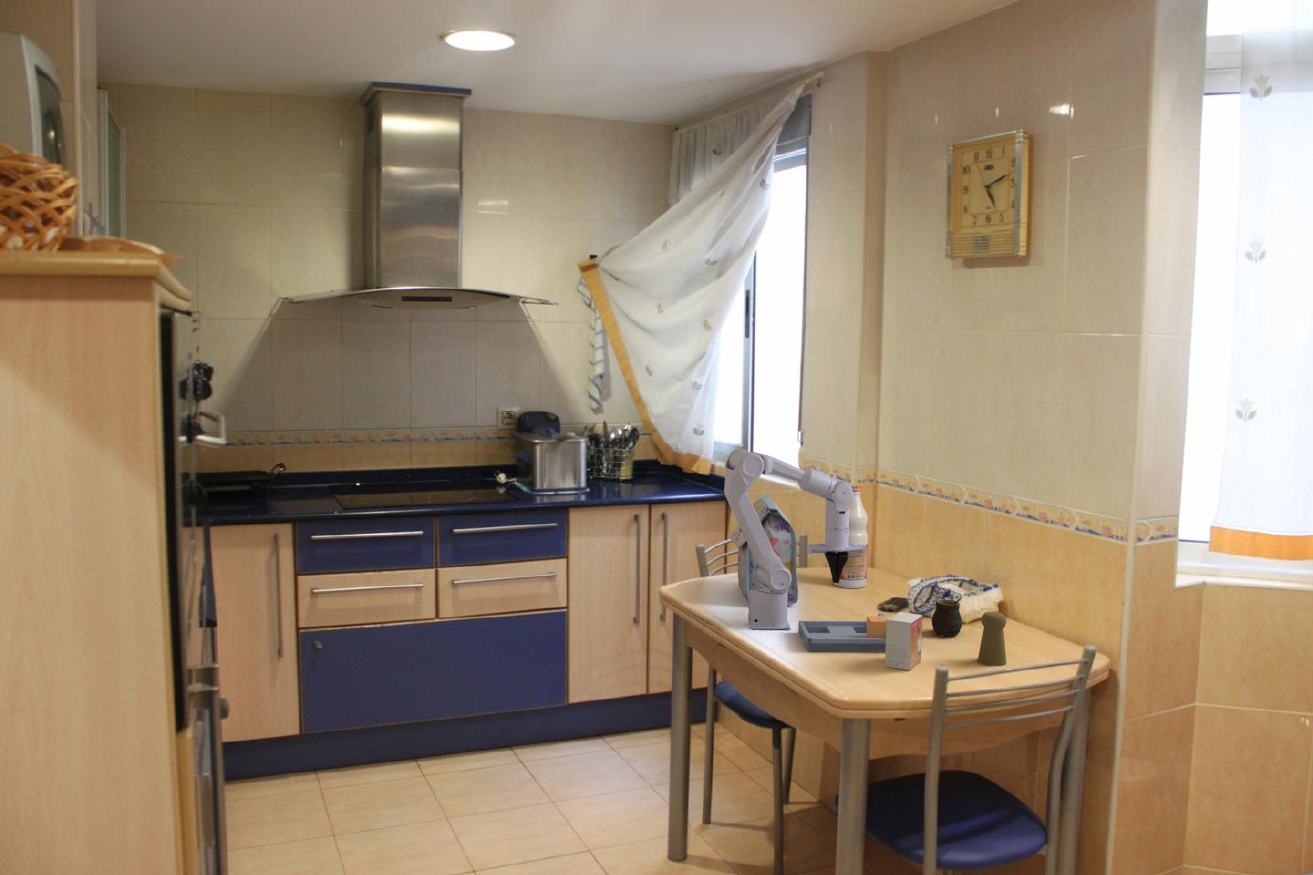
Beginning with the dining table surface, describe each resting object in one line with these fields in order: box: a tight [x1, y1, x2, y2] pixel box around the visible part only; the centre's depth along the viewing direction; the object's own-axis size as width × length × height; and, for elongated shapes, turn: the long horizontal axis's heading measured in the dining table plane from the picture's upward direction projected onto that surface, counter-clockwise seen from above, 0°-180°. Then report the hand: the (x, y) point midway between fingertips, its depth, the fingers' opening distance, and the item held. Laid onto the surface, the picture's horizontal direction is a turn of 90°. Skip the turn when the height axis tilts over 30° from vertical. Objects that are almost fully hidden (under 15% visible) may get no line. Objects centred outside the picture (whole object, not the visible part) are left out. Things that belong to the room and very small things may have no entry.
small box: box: [884, 611, 924, 671], centre depth 236 cm, size 8×6×10 cm
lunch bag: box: [730, 494, 799, 606], centre depth 293 cm, size 22×17×26 cm
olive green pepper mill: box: [977, 611, 1007, 667], centre depth 238 cm, size 6×6×11 cm
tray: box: [797, 612, 886, 653], centre depth 252 cm, size 20×15×5 cm
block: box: [866, 615, 889, 638], centre depth 249 cm, size 4×4×4 cm
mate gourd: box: [931, 596, 963, 638], centre depth 259 cm, size 7×8×10 cm
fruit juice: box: [833, 485, 869, 589], centre depth 307 cm, size 9×9×28 cm
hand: (835, 582), depth 269 cm, fingers closed
